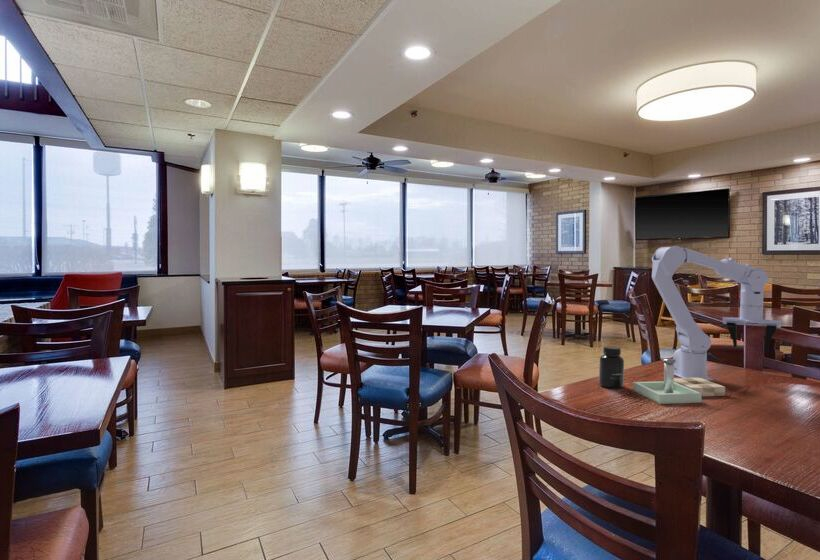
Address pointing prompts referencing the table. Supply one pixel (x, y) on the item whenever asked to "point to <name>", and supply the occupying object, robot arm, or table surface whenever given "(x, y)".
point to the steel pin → (669, 375)
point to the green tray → (657, 393)
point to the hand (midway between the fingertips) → (750, 347)
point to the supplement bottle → (611, 368)
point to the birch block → (702, 386)
